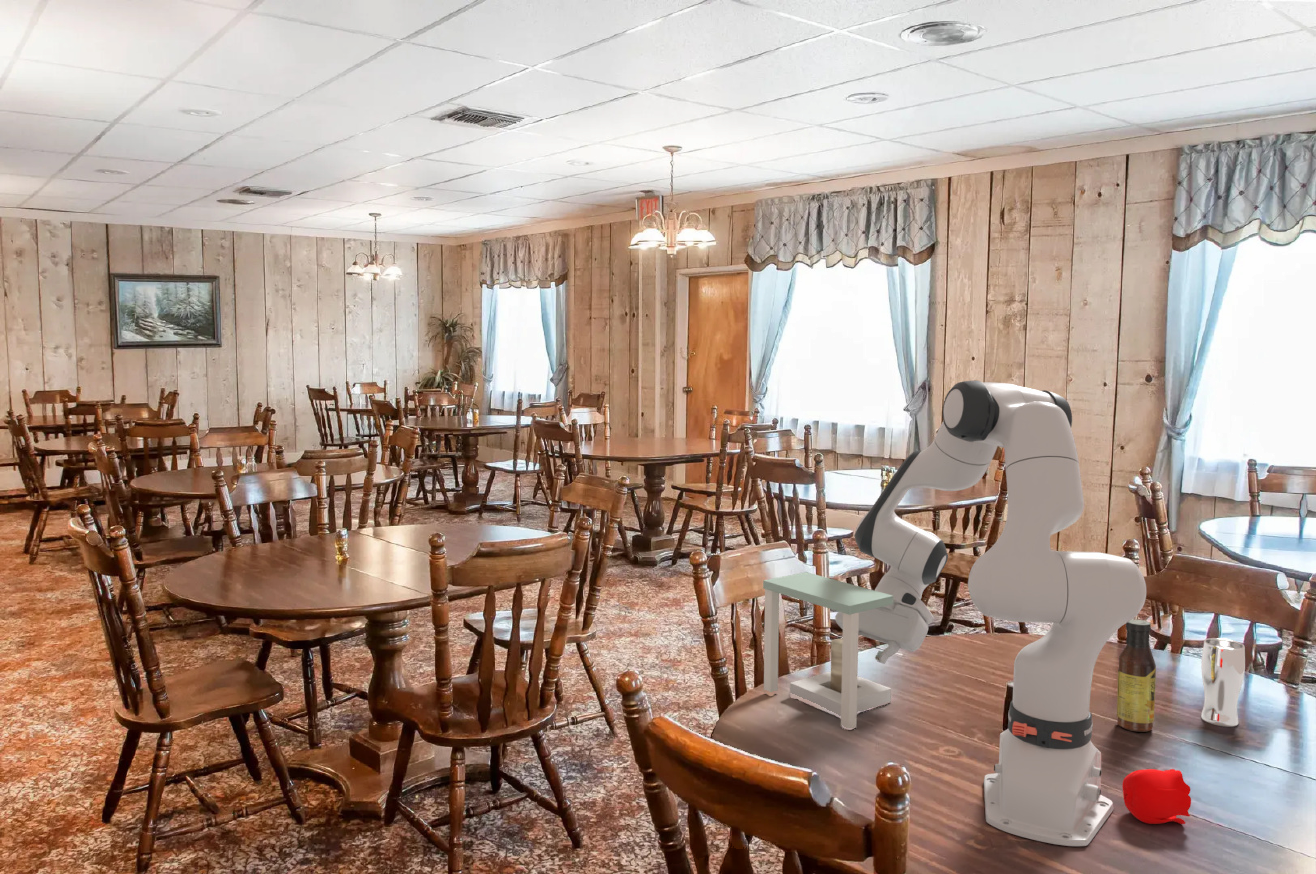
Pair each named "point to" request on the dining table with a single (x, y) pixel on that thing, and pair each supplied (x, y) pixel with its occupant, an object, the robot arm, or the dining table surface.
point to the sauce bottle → (1136, 679)
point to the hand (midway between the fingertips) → (861, 655)
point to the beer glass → (1222, 680)
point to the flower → (1156, 795)
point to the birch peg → (836, 665)
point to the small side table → (829, 596)
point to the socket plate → (822, 695)
